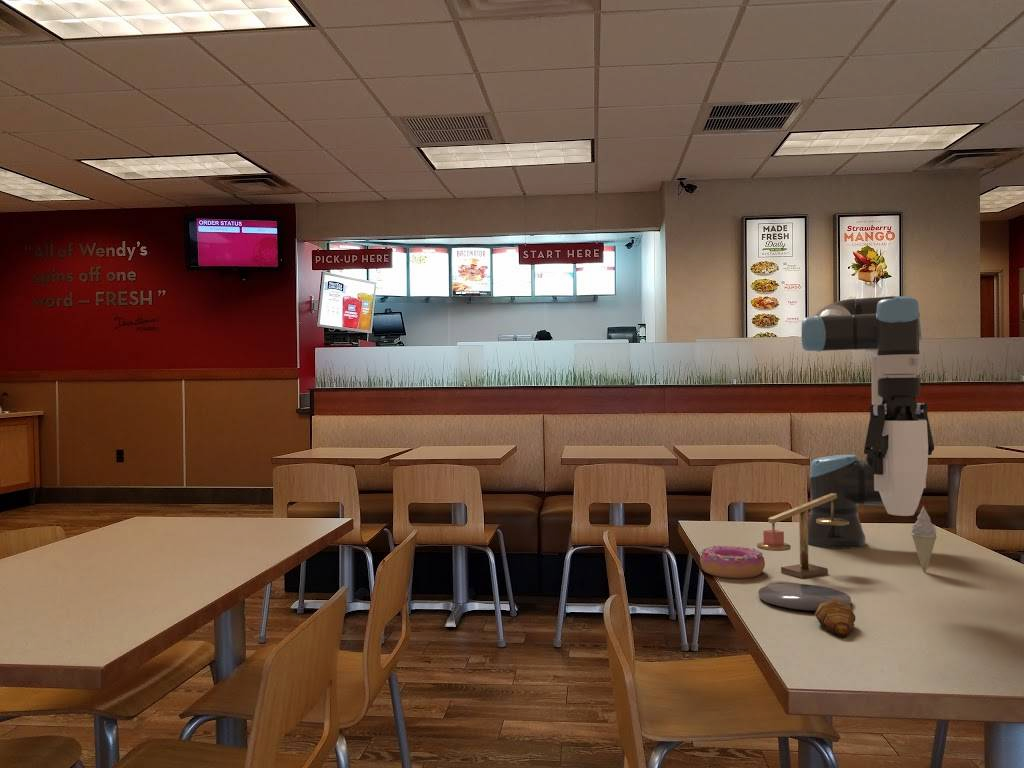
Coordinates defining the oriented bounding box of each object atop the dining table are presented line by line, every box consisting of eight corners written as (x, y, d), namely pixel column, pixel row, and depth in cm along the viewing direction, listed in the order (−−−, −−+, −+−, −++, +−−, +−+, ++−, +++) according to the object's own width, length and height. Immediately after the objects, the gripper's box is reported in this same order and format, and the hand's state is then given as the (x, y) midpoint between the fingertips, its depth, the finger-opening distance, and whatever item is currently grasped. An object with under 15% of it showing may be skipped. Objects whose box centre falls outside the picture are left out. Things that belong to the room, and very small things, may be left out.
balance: (774, 583, 163) (772, 502, 163) (750, 576, 169) (749, 498, 169) (856, 570, 174) (855, 494, 174) (831, 563, 180) (830, 490, 180)
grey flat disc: (740, 596, 154) (740, 590, 154) (802, 585, 161) (802, 579, 161) (805, 618, 138) (805, 612, 138) (871, 606, 146) (870, 599, 146)
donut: (775, 571, 174) (775, 549, 174) (747, 584, 164) (746, 560, 164) (718, 562, 184) (718, 541, 184) (687, 573, 174) (687, 551, 174)
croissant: (865, 641, 127) (865, 611, 127) (822, 639, 128) (822, 609, 128) (846, 617, 140) (846, 590, 140) (807, 615, 141) (807, 588, 141)
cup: (908, 536, 143) (906, 421, 143) (860, 527, 152) (858, 419, 152) (942, 530, 148) (941, 419, 148) (894, 522, 157) (892, 417, 157)
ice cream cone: (936, 570, 172) (935, 504, 172) (938, 575, 168) (937, 507, 168) (911, 568, 174) (910, 503, 174) (912, 573, 170) (911, 506, 170)
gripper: (875, 377, 142) (877, 496, 142) (953, 376, 152) (955, 487, 152) (842, 377, 149) (843, 491, 149) (919, 376, 159) (921, 483, 159)
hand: (900, 489), depth 150 cm, fingers closed on cup, 10 cm apart
